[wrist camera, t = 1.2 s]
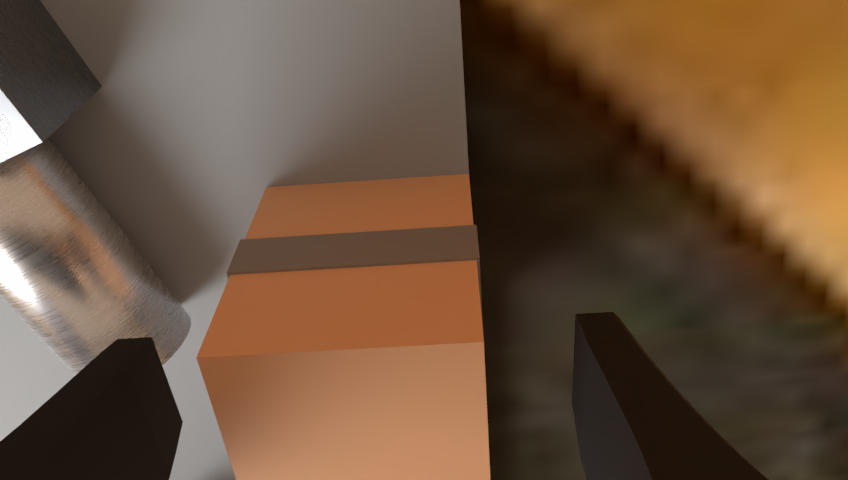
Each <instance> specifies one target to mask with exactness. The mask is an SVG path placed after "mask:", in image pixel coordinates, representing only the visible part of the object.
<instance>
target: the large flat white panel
mask: <svg viewBox="0 0 848 480" xmlns="http://www.w3.org/2000/svg"><path fill="white" fill-rule="evenodd" d="M40 1H41V2H42V4H43V5H44V7H45V8H46V9H47V11H48V12H49V13H50V15H51V16H52V18H53V19H54V20H55V22H56V23H57V25H58V26H59V27H60V29H61V30H62V32H63V33H64V34H65V36H66V37H67V38H68V40H69V41H70V43H71V44H72V45H73V47H74V48H75V50H76V51H77V52H78V54H79V55H80V56H81V58H82V59H83V61H84V62H85V63H86V65H87V66H88V68H89V69H90V70H91V72H92V73H93V74H94V76H95V77H96V79H97V80H98V81H99V83H100V84H101V86H102V87H101V88H100V89H99V90H98V91H97V92H96V93H95V94H94V95H93V96H92V97H91V98H90V99H89V100H88V101H86V102H85V103H84V104H83V105H82V106H81V107H80V108H79V109H78V110H77V111H76V112H75V113H74V114H73V115H71V116H70V117H69V118H68V119H67V120H66V121H65V122H64V123H63V124H62V125H61V126H60V127H59V128H58V129H56V130H55V131H54V132H53V133H52V134H51V135H50V136H49V137H48V138H49V139H50V141H51V142H52V143H53V144H54V146H55V147H56V148H57V149H58V151H59V152H60V153H61V155H62V156H63V157H64V158H65V160H66V161H67V162H68V163H69V165H70V166H71V167H72V168H73V170H74V171H75V172H76V173H77V175H78V176H79V177H80V178H81V180H82V181H83V182H84V183H85V185H86V186H87V187H88V189H89V190H90V191H91V192H92V194H93V195H94V196H95V197H96V199H97V200H98V201H99V202H100V204H101V205H102V206H103V207H104V209H105V210H106V211H107V212H108V214H109V215H110V216H111V218H112V219H113V220H114V221H115V223H116V224H117V225H118V226H119V228H120V229H121V230H122V231H123V233H124V234H125V235H126V236H127V238H128V239H129V240H130V241H131V243H132V244H133V245H134V246H135V248H136V249H137V250H138V252H139V253H140V254H141V255H142V257H143V258H144V259H145V260H146V262H147V263H148V264H149V265H150V267H151V268H152V269H153V270H154V272H155V273H156V274H157V275H158V277H159V278H160V279H161V281H162V282H163V283H164V284H165V286H166V287H167V288H168V289H169V291H170V292H171V293H172V294H173V296H174V297H175V298H176V299H177V301H178V302H179V303H180V304H181V306H182V307H183V308H184V310H185V311H186V312H187V313H188V315H189V316H190V318H191V327H190V330H189V333H188V335H187V337H186V339H185V340H184V342H183V343H182V345H181V346H180V347H179V349H178V350H177V351H176V352H175V354H174V355H173V356H172V357H171V358H170V359H169V360H168V361H167V362H166V363H165V364H164V365H162V366H163V369H164V372H165V375H166V377H167V380H168V383H169V386H170V388H171V391H172V394H173V397H174V399H175V402H176V405H177V407H178V410H179V413H180V416H181V418H182V421H183V423H182V428H181V432H180V437H179V441H178V446H177V451H176V455H175V459H174V462H173V466H172V470H171V474H170V478H169V480H236V478H235V475H234V472H233V469H232V465H231V462H230V459H229V456H228V453H227V450H226V447H225V444H224V441H223V438H222V435H221V432H220V429H219V426H218V423H217V419H216V416H215V413H214V410H213V407H212V404H211V401H210V398H209V395H208V392H207V389H206V386H205V383H204V380H203V377H202V373H201V370H200V367H199V364H198V361H197V358H196V357H197V355H198V352H199V350H200V348H201V345H202V343H203V340H204V338H205V335H206V333H207V330H208V328H209V326H210V323H211V321H212V318H213V316H214V313H215V311H216V308H217V306H218V303H219V301H220V299H221V296H222V294H223V291H224V289H225V286H226V284H227V281H228V276H227V273H226V272H227V270H228V268H229V265H230V263H231V261H232V258H233V256H234V253H235V251H236V249H237V246H238V244H239V241H240V240H241V239H245V237H246V235H247V233H248V230H249V228H250V225H251V223H252V220H253V218H254V215H255V213H256V211H257V208H258V206H259V203H260V201H261V198H262V196H263V193H264V191H265V189H266V187H277V186H292V185H307V184H322V183H337V182H352V181H367V180H382V179H397V178H412V177H427V176H442V175H458V174H469V164H468V146H467V127H466V108H465V89H464V71H463V52H462V33H461V14H460V0H40ZM74 376H75V375H74V374H73V373H72V372H71V371H70V370H69V369H68V368H67V367H66V366H65V365H64V364H63V363H62V362H61V361H60V360H59V358H58V357H57V356H56V355H55V354H54V353H53V352H52V351H51V350H50V349H49V348H48V347H47V346H46V345H45V344H44V343H43V342H42V341H41V340H40V339H39V337H38V336H37V335H36V334H35V333H34V332H33V331H32V330H31V329H30V328H29V327H28V326H27V325H26V324H25V323H24V322H23V321H22V320H21V319H20V317H19V316H18V315H17V314H16V313H15V312H14V311H13V310H12V309H11V308H10V307H9V306H8V305H7V304H6V303H5V302H4V301H3V300H2V299H1V298H0V441H1V440H2V439H4V438H5V437H6V436H7V435H8V434H10V433H11V432H12V431H13V430H14V429H16V428H17V427H18V426H19V425H20V424H22V423H23V422H24V421H25V420H26V419H27V418H28V417H29V416H31V415H32V414H33V413H34V412H35V411H36V410H37V409H38V408H40V407H41V406H42V405H43V404H44V403H45V402H46V401H48V400H49V399H50V398H51V397H52V396H53V395H54V394H55V393H57V392H58V391H59V390H60V389H61V388H62V387H63V386H64V385H65V384H67V383H68V382H69V381H70V380H71V379H72V378H73V377H74Z"/></svg>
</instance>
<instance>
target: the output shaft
mask: <svg viewBox="0 0 848 480" xmlns="http://www.w3.org/2000/svg"><path fill="white" fill-rule="evenodd" d="M101 87H102V86H101V84H100V83H99V81H98V80H97V79H96V77H95V76H94V74H93V73H92V72H91V70H90V69H89V68H88V66H87V65H86V63H85V62H84V61H83V59H82V58H81V56H80V55H79V54H78V52H77V51H76V50H75V48H74V47H73V45H72V44H71V43H70V41H69V40H68V38H67V37H66V36H65V34H64V33H63V32H62V30H61V29H60V27H59V26H58V25H57V23H56V22H55V20H54V19H53V18H52V16H51V15H50V13H49V12H48V11H47V9H46V8H45V7H44V5H43V4H42V2H41V1H40V0H0V298H1V299H2V300H3V301H4V302H5V303H6V304H7V305H8V306H9V307H10V308H11V309H12V310H13V311H14V312H15V313H16V314H17V315H18V316H19V317H20V319H21V320H22V321H23V322H24V323H25V324H26V325H27V326H28V327H29V328H30V329H31V330H32V331H33V332H34V333H35V334H36V335H37V336H38V337H39V339H40V340H41V341H42V342H43V343H44V344H45V345H46V346H47V347H48V348H49V349H50V350H51V351H52V352H53V353H54V354H55V355H56V356H57V357H58V358H59V360H60V361H61V362H62V363H63V364H64V365H65V366H66V367H67V368H68V369H69V370H70V371H71V372H72V373H73V374H74V375H76V374H78V373H79V372H80V371H81V370H82V369H83V368H84V367H85V366H86V365H88V364H89V363H90V362H91V361H92V360H93V359H94V358H95V357H97V356H98V355H99V354H100V353H101V352H102V351H103V350H105V349H106V348H107V347H108V346H109V345H111V344H112V343H113V342H114V341H116V340H117V339H127V338H145V337H152V339H153V342H154V344H155V347H156V350H157V353H158V355H159V358H160V361H161V364H162V365H164V364H165V363H166V362H167V361H168V360H169V359H170V358H171V357H172V356H173V355H174V354H175V352H176V351H177V350H178V349H179V347H180V346H181V345H182V343H183V342H184V340H185V339H186V337H187V335H188V333H189V330H190V327H191V318H190V316H189V315H188V313H187V312H186V311H185V310H184V308H183V307H182V306H181V304H180V303H179V302H178V301H177V299H176V298H175V297H174V296H173V294H172V293H171V292H170V291H169V289H168V288H167V287H166V286H165V284H164V283H163V282H162V281H161V279H160V278H159V277H158V275H157V274H156V273H155V272H154V270H153V269H152V268H151V267H150V265H149V264H148V263H147V262H146V260H145V259H144V258H143V257H142V255H141V254H140V253H139V252H138V250H137V249H136V248H135V246H134V245H133V244H132V243H131V241H130V240H129V239H128V238H127V236H126V235H125V234H124V233H123V231H122V230H121V229H120V228H119V226H118V225H117V224H116V223H115V221H114V220H113V219H112V218H111V216H110V215H109V214H108V212H107V211H106V210H105V209H104V207H103V206H102V205H101V204H100V202H99V201H98V200H97V199H96V197H95V196H94V195H93V194H92V192H91V191H90V190H89V189H88V187H87V186H86V185H85V183H84V182H83V181H82V180H81V178H80V177H79V176H78V175H77V173H76V172H75V171H74V170H73V168H72V167H71V166H70V165H69V163H68V162H67V161H66V160H65V158H64V157H63V156H62V155H61V153H60V152H59V151H58V149H57V148H56V147H55V146H54V144H53V143H52V142H51V141H50V139H49V138H48V137H49V136H50V135H51V134H52V133H53V132H54V131H55V130H56V129H58V128H59V127H60V126H61V125H62V124H63V123H64V122H65V121H66V120H67V119H68V118H69V117H70V116H71V115H73V114H74V113H75V112H76V111H77V110H78V109H79V108H80V107H81V106H82V105H83V104H84V103H85V102H86V101H88V100H89V99H90V98H91V97H92V96H93V95H94V94H95V93H96V92H97V91H98V90H99V89H100V88H101Z"/></svg>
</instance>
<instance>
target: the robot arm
mask: <svg viewBox="0 0 848 480" xmlns="http://www.w3.org/2000/svg"><path fill="white" fill-rule="evenodd" d="M572 405H573V412H574V418H575V425H576V431H577V437H578V443H579V449H580V455H581V460H582V464H583V467H584V471H585V475H586V478H587V480H768V479H767V478H766V477H765V476H764V475H763V474H761V473H760V472H759V471H758V470H757V469H756V468H755V467H753V466H752V465H751V464H750V463H749V462H748V461H747V460H746V459H745V458H744V457H742V456H741V455H740V454H739V453H738V452H737V451H736V450H735V449H734V448H733V447H732V446H731V445H730V444H729V443H728V442H727V441H726V440H725V439H724V438H723V437H722V436H721V435H720V434H719V433H718V432H717V431H716V430H715V429H714V428H713V427H712V426H711V425H710V424H709V423H708V422H707V421H706V420H705V419H704V418H703V417H702V416H701V415H700V414H699V413H698V412H697V411H696V410H695V409H694V408H693V407H692V406H691V405H690V403H689V402H688V401H687V400H686V399H685V398H684V397H683V396H682V395H681V393H680V392H679V391H678V390H677V389H676V388H675V387H674V386H673V384H672V383H671V382H670V381H669V380H668V379H667V378H666V377H665V375H664V374H663V373H662V372H661V371H660V369H659V368H658V367H657V366H656V365H655V363H654V362H653V361H652V360H651V358H650V357H649V356H648V355H647V354H646V352H645V351H644V350H643V349H642V347H641V346H640V345H639V343H638V342H637V341H636V340H635V338H634V337H633V336H632V334H631V333H630V332H629V330H628V329H627V328H626V326H625V325H624V324H623V322H622V321H621V319H620V318H619V317H618V316H617V315H616V314H615V313H613V312H605V313H586V314H576V319H575V345H574V370H573V395H572ZM182 423H183V421H182V418H181V416H180V413H179V410H178V407H177V405H176V402H175V399H174V397H173V394H172V391H171V388H170V386H169V383H168V380H167V377H166V375H165V372H164V369H163V366H162V364H161V361H160V358H159V355H158V353H157V350H156V347H155V344H154V342H153V339H152V337H145V338H127V339H117V340H116V341H114V342H113V343H112V344H111V345H109V346H108V347H107V348H106V349H105V350H103V351H102V352H101V353H100V354H99V355H98V356H97V357H95V358H94V359H93V360H92V361H91V362H90V363H89V364H88V365H86V366H85V367H84V368H83V369H82V370H81V371H80V372H79V373H78V374H76V375H75V376H74V377H73V378H72V379H71V380H70V381H69V382H68V383H67V384H65V385H64V386H63V387H62V388H61V389H60V390H59V391H58V392H57V393H55V394H54V395H53V396H52V397H51V398H50V399H49V400H48V401H46V402H45V403H44V404H43V405H42V406H41V407H40V408H38V409H37V410H36V411H35V412H34V413H33V414H32V415H31V416H29V417H28V418H27V419H26V420H25V421H24V422H23V423H22V424H20V425H19V426H18V427H17V428H16V429H14V430H13V431H12V432H11V433H10V434H8V435H7V436H6V437H5V438H4V439H2V440H1V441H0V480H169V478H170V474H171V470H172V466H173V462H174V459H175V455H176V451H177V446H178V441H179V437H180V432H181V428H182Z"/></svg>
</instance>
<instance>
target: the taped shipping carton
mask: <svg viewBox="0 0 848 480" xmlns="http://www.w3.org/2000/svg"><path fill="white" fill-rule="evenodd" d="M226 273H227V276H228V281H227V284H226V286H225V289H224V291H223V294H222V296H221V299H220V301H219V303H218V306H217V308H216V311H215V313H214V316H213V318H212V321H211V323H210V326H209V328H208V330H207V333H206V335H205V338H204V340H203V343H202V345H201V348H200V350H199V352H198V355H197V357H196V358H197V361H198V364H199V367H200V370H201V373H202V377H203V380H204V383H205V386H206V389H207V392H208V395H209V398H210V401H211V404H212V407H213V410H214V413H215V416H216V419H217V423H218V426H219V429H220V432H221V435H222V438H223V441H224V444H225V447H226V450H227V453H228V456H229V459H230V462H231V465H232V469H233V472H234V475H235V478H236V480H490V459H489V438H488V417H487V396H486V375H485V354H484V337H483V316H482V295H481V275H480V255H479V245H478V235H477V225H474V224H473V213H472V202H471V191H470V179H469V174H458V175H442V176H427V177H412V178H397V179H382V180H367V181H352V182H337V183H322V184H307V185H292V186H277V187H266V189H265V191H264V193H263V196H262V198H261V201H260V203H259V206H258V208H257V211H256V213H255V215H254V218H253V220H252V223H251V225H250V228H249V230H248V233H247V235H246V237H245V239H241V240H240V241H239V244H238V246H237V249H236V251H235V253H234V256H233V258H232V261H231V263H230V265H229V268H228V270H227V272H226Z"/></svg>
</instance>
